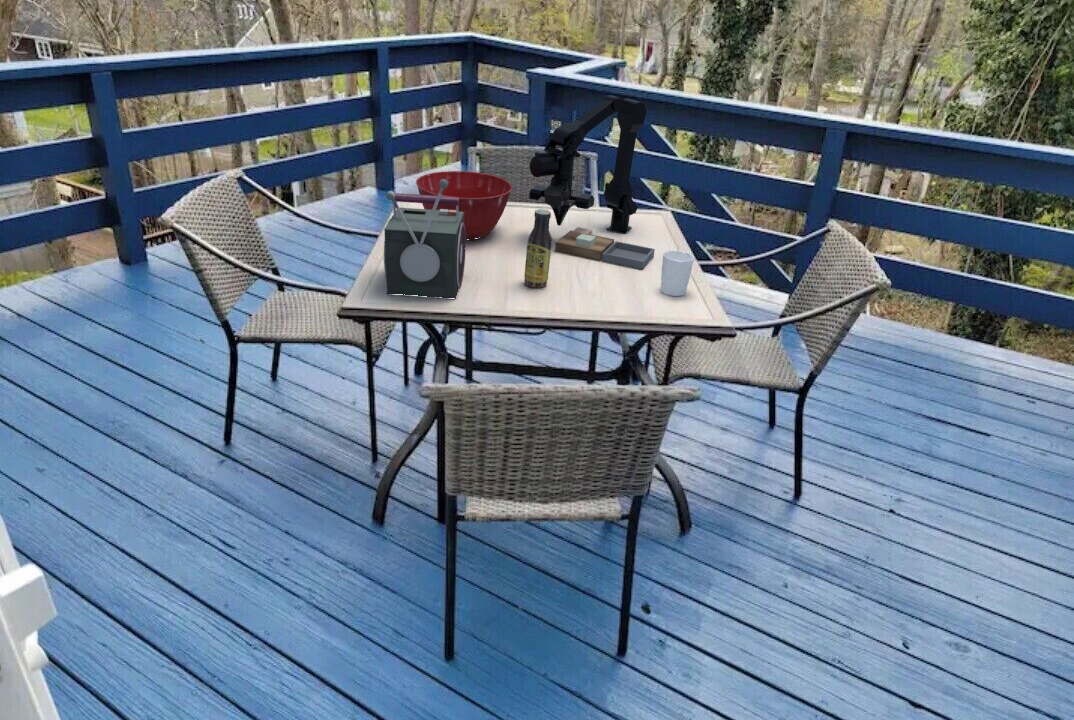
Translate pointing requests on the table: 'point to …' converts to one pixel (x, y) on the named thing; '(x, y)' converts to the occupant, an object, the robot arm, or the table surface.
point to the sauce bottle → (538, 251)
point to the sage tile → (585, 240)
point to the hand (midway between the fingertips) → (559, 225)
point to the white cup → (676, 272)
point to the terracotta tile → (581, 232)
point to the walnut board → (583, 247)
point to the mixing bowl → (470, 197)
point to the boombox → (425, 246)
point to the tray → (628, 255)
